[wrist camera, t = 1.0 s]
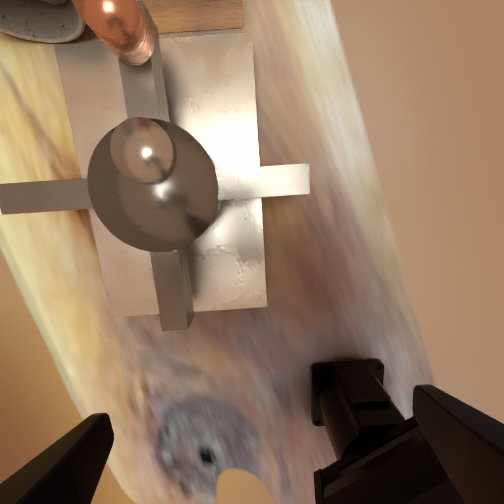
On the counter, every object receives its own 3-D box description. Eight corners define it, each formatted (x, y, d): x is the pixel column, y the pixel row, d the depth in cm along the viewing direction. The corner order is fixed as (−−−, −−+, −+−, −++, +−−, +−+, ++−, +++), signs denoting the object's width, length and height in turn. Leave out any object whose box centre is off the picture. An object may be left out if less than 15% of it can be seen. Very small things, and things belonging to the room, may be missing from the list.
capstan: (304, 307, 16) (323, 343, 12) (62, 323, 16) (-2, 365, 12) (298, 20, 13) (322, -68, 9) (-12, 40, 13) (-139, -39, 9)
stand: (265, 296, 20) (270, 327, 15) (124, 306, 20) (84, 340, 15) (245, -53, 15) (244, -177, 10) (57, -41, 15) (-37, -160, 10)
